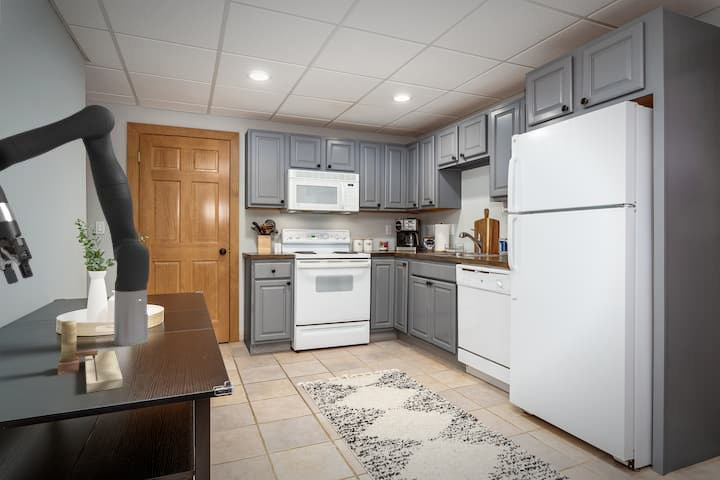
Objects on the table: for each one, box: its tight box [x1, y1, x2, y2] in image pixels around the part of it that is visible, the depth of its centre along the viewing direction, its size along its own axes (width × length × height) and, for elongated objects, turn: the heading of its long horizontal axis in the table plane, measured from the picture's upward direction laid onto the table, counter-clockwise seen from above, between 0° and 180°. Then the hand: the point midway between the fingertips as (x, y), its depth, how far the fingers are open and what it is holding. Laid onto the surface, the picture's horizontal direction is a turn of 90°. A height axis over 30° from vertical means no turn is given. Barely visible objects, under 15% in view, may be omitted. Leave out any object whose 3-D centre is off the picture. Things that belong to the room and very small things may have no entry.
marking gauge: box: [57, 320, 99, 376], centre depth 109 cm, size 8×6×12 cm
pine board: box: [84, 350, 124, 394], centre depth 106 cm, size 7×26×2 cm, turn 34°
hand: (20, 280), depth 112 cm, fingers open, 8 cm apart
